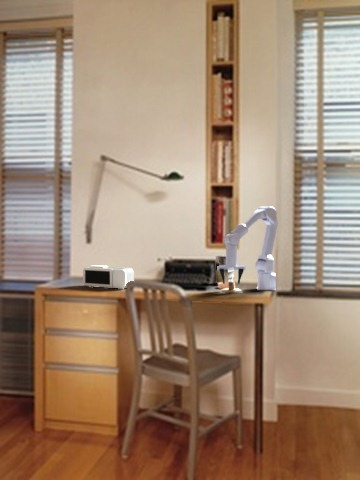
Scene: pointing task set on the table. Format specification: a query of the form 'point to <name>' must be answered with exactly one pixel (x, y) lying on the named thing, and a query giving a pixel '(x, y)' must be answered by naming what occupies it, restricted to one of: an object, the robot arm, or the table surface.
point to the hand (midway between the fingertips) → (231, 283)
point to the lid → (231, 288)
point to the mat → (228, 292)
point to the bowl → (224, 285)
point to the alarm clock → (107, 276)
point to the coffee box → (227, 273)
